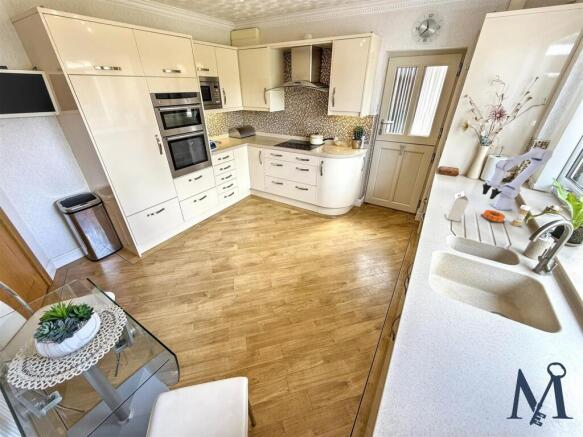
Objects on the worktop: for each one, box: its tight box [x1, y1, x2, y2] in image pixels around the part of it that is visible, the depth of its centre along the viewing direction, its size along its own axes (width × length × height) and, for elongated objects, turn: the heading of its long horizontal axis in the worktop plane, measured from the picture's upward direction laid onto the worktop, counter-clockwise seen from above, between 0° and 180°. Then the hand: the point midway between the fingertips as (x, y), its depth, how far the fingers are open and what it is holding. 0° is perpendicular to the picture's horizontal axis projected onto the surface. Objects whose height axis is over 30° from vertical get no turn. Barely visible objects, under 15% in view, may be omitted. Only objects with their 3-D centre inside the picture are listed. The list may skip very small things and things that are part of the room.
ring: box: [482, 209, 506, 222], centre depth 154 cm, size 11×11×3 cm
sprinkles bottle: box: [510, 204, 532, 227], centre depth 147 cm, size 5×5×13 cm
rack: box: [480, 213, 506, 224], centre depth 154 cm, size 9×9×4 cm
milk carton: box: [445, 189, 470, 223], centre depth 149 cm, size 7×7×19 cm
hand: (487, 196), depth 164 cm, fingers open, 7 cm apart
